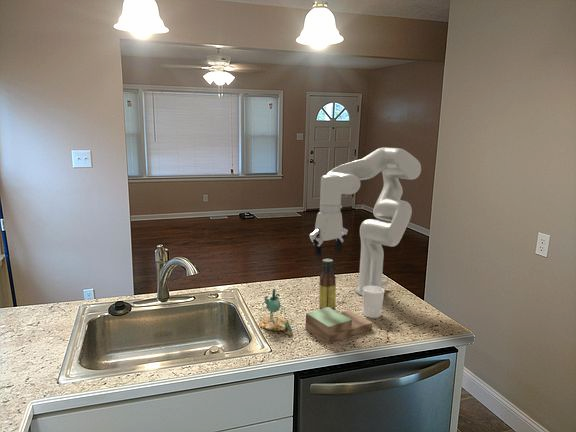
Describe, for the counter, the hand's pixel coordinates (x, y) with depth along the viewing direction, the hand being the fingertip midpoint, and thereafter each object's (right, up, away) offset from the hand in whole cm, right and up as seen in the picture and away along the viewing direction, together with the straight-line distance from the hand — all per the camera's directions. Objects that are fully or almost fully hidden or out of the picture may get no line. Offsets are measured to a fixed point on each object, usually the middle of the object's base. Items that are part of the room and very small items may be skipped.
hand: (328, 254), depth 160 cm
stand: (+3, -25, -12) cm, 28 cm away
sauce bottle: (0, -22, +4) cm, 22 cm away
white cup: (+16, -23, +2) cm, 28 cm away
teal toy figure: (-20, -25, -11) cm, 33 cm away
